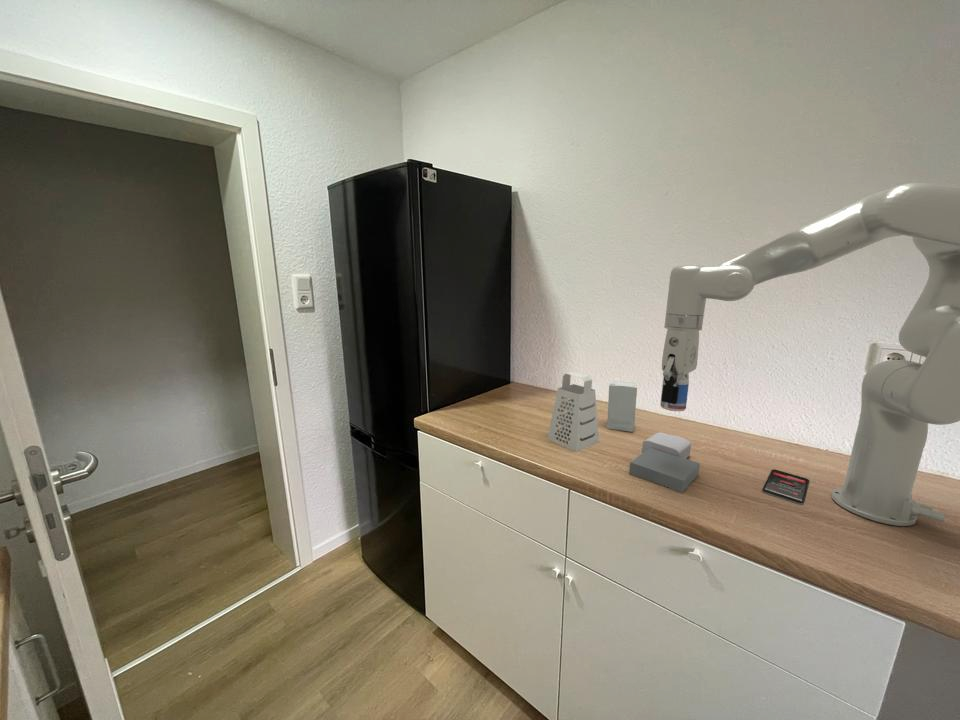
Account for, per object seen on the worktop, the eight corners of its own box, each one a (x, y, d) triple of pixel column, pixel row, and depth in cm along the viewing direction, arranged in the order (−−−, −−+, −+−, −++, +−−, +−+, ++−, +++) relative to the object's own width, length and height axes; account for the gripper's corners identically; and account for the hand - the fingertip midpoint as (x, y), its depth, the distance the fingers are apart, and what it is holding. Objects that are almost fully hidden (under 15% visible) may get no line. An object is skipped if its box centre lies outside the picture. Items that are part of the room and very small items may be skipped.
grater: (576, 451, 105) (581, 381, 101) (547, 439, 113) (550, 373, 109) (598, 442, 111) (604, 375, 107) (569, 430, 119) (573, 368, 115)
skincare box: (634, 426, 124) (638, 382, 121) (633, 433, 118) (638, 387, 115) (607, 422, 127) (610, 379, 124) (605, 428, 121) (609, 383, 118)
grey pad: (698, 474, 94) (700, 463, 93) (681, 492, 85) (683, 480, 85) (648, 458, 102) (649, 447, 101) (629, 473, 93) (630, 462, 93)
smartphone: (809, 479, 92) (803, 504, 81) (809, 482, 92) (802, 507, 81) (772, 468, 97) (761, 490, 86) (771, 471, 97) (760, 493, 86)
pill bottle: (690, 409, 89) (695, 368, 87) (677, 413, 86) (682, 371, 84) (668, 403, 94) (673, 364, 92) (655, 406, 91) (659, 366, 89)
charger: (697, 450, 107) (677, 468, 97) (663, 440, 114) (641, 455, 104) (699, 434, 106) (679, 450, 96) (665, 425, 113) (643, 439, 103)
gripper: (689, 327, 77) (678, 412, 81) (713, 321, 89) (702, 395, 93) (651, 323, 82) (642, 404, 86) (678, 318, 94) (670, 389, 98)
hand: (673, 398), depth 89 cm, fingers closed on pill bottle, 5 cm apart
